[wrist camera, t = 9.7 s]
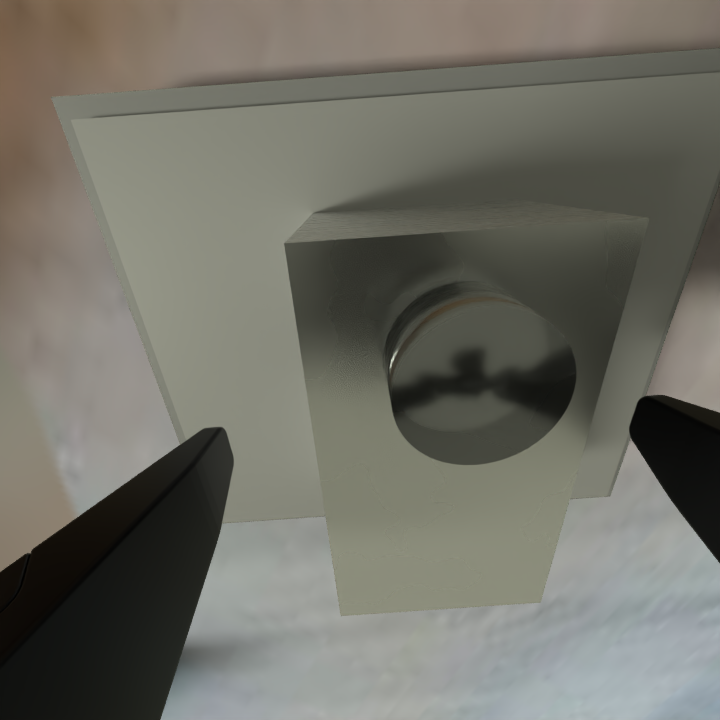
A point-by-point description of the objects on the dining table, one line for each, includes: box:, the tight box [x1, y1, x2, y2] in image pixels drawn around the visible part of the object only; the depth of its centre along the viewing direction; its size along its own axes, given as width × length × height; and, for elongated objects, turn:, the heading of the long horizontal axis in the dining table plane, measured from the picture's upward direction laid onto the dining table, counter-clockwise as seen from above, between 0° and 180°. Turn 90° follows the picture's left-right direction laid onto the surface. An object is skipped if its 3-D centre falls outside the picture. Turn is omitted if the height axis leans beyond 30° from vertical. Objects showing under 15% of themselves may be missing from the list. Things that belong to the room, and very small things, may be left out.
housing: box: [284, 199, 649, 616], centre depth 8 cm, size 9×5×6 cm, turn 4°
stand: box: [51, 48, 720, 523], centre depth 12 cm, size 16×14×3 cm
